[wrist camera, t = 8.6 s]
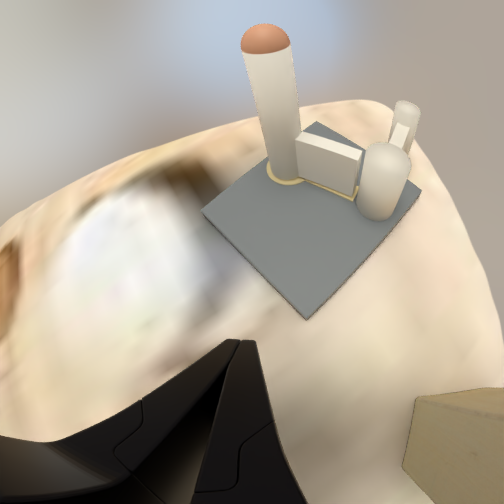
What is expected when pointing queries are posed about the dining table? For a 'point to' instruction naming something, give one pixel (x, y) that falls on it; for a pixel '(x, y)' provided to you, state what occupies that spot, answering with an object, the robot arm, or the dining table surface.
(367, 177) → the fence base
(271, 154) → the fence post
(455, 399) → the toy refrigerator
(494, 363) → the dining table surface
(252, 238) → the board
